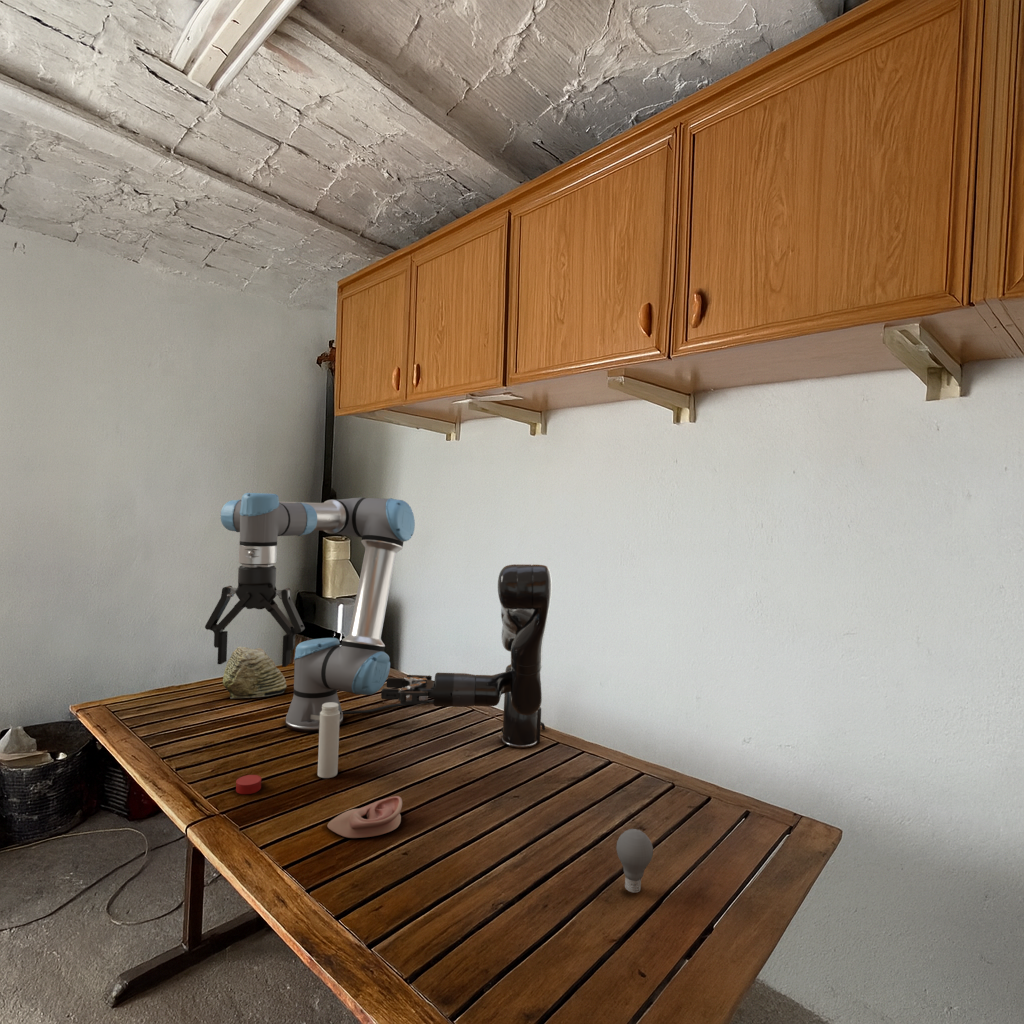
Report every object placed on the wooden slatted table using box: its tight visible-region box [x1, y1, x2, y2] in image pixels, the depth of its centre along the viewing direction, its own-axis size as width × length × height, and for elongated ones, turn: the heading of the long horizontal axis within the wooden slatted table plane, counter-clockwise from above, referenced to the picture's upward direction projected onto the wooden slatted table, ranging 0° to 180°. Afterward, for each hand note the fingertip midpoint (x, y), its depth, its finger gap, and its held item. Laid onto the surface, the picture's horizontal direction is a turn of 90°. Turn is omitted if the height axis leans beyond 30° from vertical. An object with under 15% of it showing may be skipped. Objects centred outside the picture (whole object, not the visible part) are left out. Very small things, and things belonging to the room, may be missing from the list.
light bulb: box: [615, 828, 654, 894], centre depth 106 cm, size 6×6×10 cm
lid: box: [235, 774, 262, 795], centre depth 136 cm, size 5×5×2 cm
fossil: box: [222, 646, 288, 699], centre depth 198 cm, size 9×18×15 cm, turn 132°
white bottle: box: [317, 702, 341, 779], centre depth 145 cm, size 4×4×16 cm
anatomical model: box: [327, 795, 403, 839], centre depth 123 cm, size 13×4×12 cm
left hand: (254, 664), depth 136 cm, fingers open, 13 cm apart
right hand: (384, 688), depth 145 cm, fingers open, 8 cm apart
